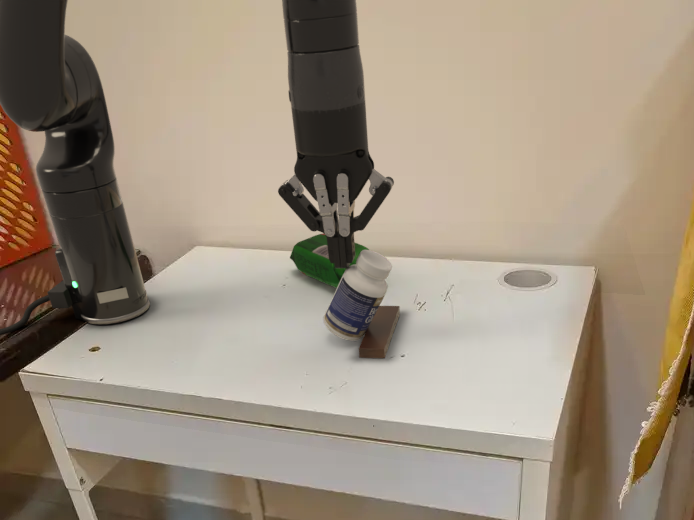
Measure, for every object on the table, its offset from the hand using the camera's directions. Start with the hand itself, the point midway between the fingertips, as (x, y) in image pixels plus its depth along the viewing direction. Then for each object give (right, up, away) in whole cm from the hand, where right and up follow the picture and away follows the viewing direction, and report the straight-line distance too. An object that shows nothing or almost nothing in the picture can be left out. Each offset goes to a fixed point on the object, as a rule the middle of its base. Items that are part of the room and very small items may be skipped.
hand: (342, 265), depth 83 cm
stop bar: (+5, -7, +5) cm, 10 cm away
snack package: (-1, +4, +21) cm, 22 cm away
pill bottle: (0, -6, +5) cm, 8 cm away
